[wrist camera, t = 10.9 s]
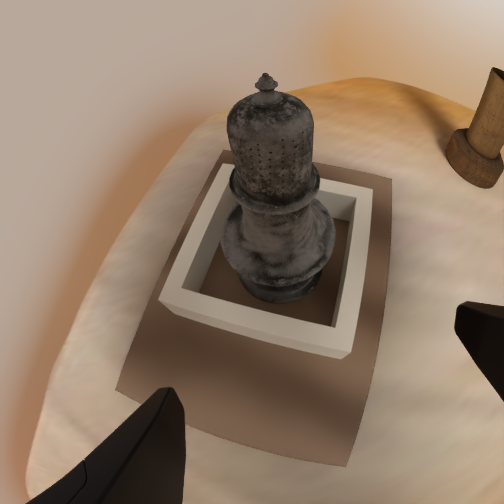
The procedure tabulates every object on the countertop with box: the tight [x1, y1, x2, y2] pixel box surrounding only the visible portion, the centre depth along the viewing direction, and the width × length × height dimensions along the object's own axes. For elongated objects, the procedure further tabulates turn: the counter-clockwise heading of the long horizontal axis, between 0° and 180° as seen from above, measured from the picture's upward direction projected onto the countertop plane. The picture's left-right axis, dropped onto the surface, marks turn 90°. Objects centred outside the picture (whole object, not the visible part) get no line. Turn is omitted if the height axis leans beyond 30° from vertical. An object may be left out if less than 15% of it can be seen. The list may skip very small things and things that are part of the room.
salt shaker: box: [221, 73, 336, 304], centre depth 12 cm, size 6×6×12 cm
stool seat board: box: [115, 150, 392, 467], centre depth 17 cm, size 20×14×4 cm
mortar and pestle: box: [446, 67, 504, 188], centre depth 14 cm, size 7×6×18 cm
